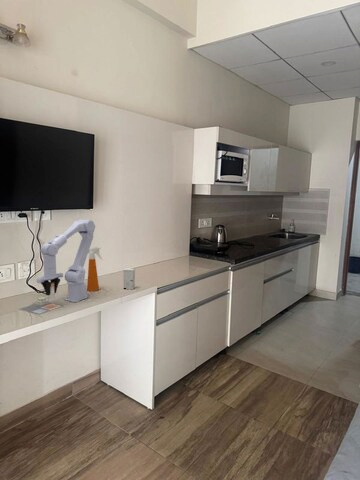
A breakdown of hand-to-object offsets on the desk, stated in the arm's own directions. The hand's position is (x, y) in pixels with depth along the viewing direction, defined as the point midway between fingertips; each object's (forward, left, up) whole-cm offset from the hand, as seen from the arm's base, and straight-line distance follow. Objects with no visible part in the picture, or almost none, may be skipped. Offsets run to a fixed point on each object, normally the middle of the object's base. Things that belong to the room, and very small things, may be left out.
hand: (51, 293), depth 173 cm
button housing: (-1, -8, -7) cm, 11 cm away
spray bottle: (-34, -2, -7) cm, 35 cm away
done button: (-1, -8, -6) cm, 10 cm away
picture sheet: (+3, -4, -7) cm, 8 cm away
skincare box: (-47, +13, -7) cm, 49 cm away
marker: (0, 0, -2) cm, 2 cm away
